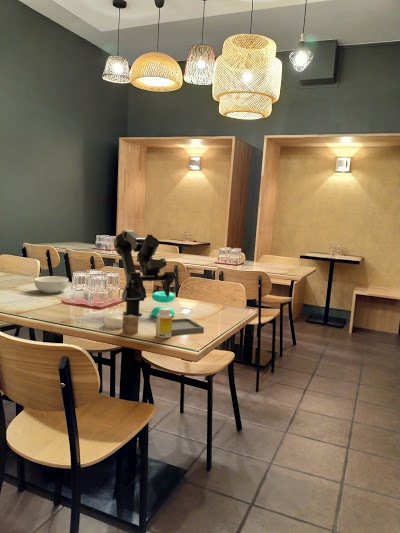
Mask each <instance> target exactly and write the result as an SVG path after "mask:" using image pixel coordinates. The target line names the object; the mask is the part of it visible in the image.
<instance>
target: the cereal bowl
mask: <svg viewBox="0 0 400 533" xmlns="http://www.w3.org/2000/svg"><path fill="white" fill-rule="evenodd" d="M34 286H35V287H36V289H37V290H39V291H41V292H43V293H44V294H59V293H60V292H61V291H64V290H65V289H67V288H68V286H69V278H68V277H66V276H59V275H58V276H56V275H54V276H53V275H52V276H48V275H47V276H39V277H35V278H34ZM58 292H59V293H58Z"/></svg>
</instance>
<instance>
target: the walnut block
mask: <svg viewBox="0 0 400 533" xmlns="http://www.w3.org/2000/svg"><path fill="white" fill-rule="evenodd" d="M122 316H123V328H121V329H122V333H125V334H127V335H134V334H138V332H139V316H134V315H122Z"/></svg>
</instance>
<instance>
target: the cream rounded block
mask: <svg viewBox="0 0 400 533" xmlns="http://www.w3.org/2000/svg"><path fill="white" fill-rule="evenodd" d="M123 316H124V315H122V314H108V315H105V316H104V321H103V322H104V323H103V326H105V327H104V328H106V329H111V328H118V329H123Z"/></svg>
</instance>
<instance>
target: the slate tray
mask: <svg viewBox="0 0 400 533" xmlns="http://www.w3.org/2000/svg"><path fill="white" fill-rule="evenodd" d="M156 321H157V319H156ZM204 330H205V327H204V326H202V325H201V324H199V323H198V322H196V321H194V320H192V319H190V318H188V317H186V318H183V317H182V318H172V329H171V336H172V335H182V334H193V333H194V334H196V333H204Z"/></svg>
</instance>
